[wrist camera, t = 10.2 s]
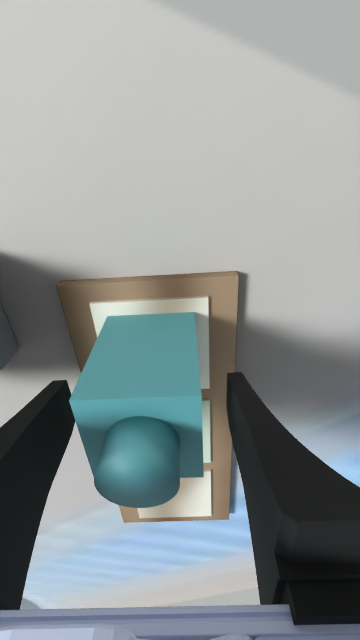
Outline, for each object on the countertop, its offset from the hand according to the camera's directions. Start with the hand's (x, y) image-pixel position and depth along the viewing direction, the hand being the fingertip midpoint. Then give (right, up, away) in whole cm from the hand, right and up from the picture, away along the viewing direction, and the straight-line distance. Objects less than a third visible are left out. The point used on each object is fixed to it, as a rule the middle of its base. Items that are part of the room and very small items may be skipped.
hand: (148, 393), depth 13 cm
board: (0, -4, +7) cm, 8 cm away
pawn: (0, +2, +3) cm, 3 cm away
